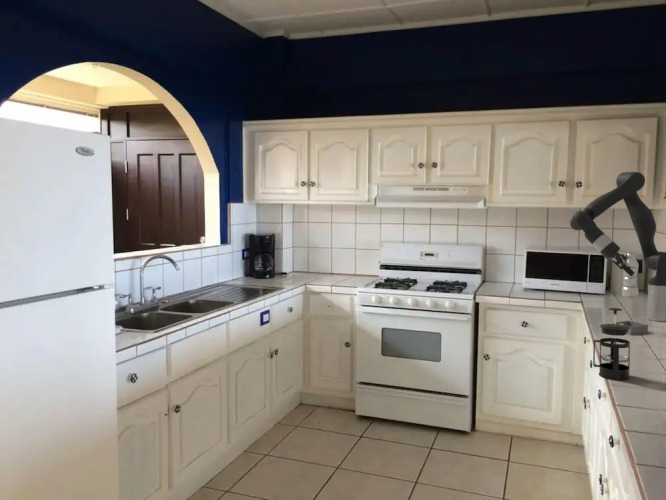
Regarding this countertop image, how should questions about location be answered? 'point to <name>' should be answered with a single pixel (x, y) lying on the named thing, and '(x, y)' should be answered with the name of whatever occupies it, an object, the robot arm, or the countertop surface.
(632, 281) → the silver metal bottle
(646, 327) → the socket collar
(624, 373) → the french press
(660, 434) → the countertop surface
